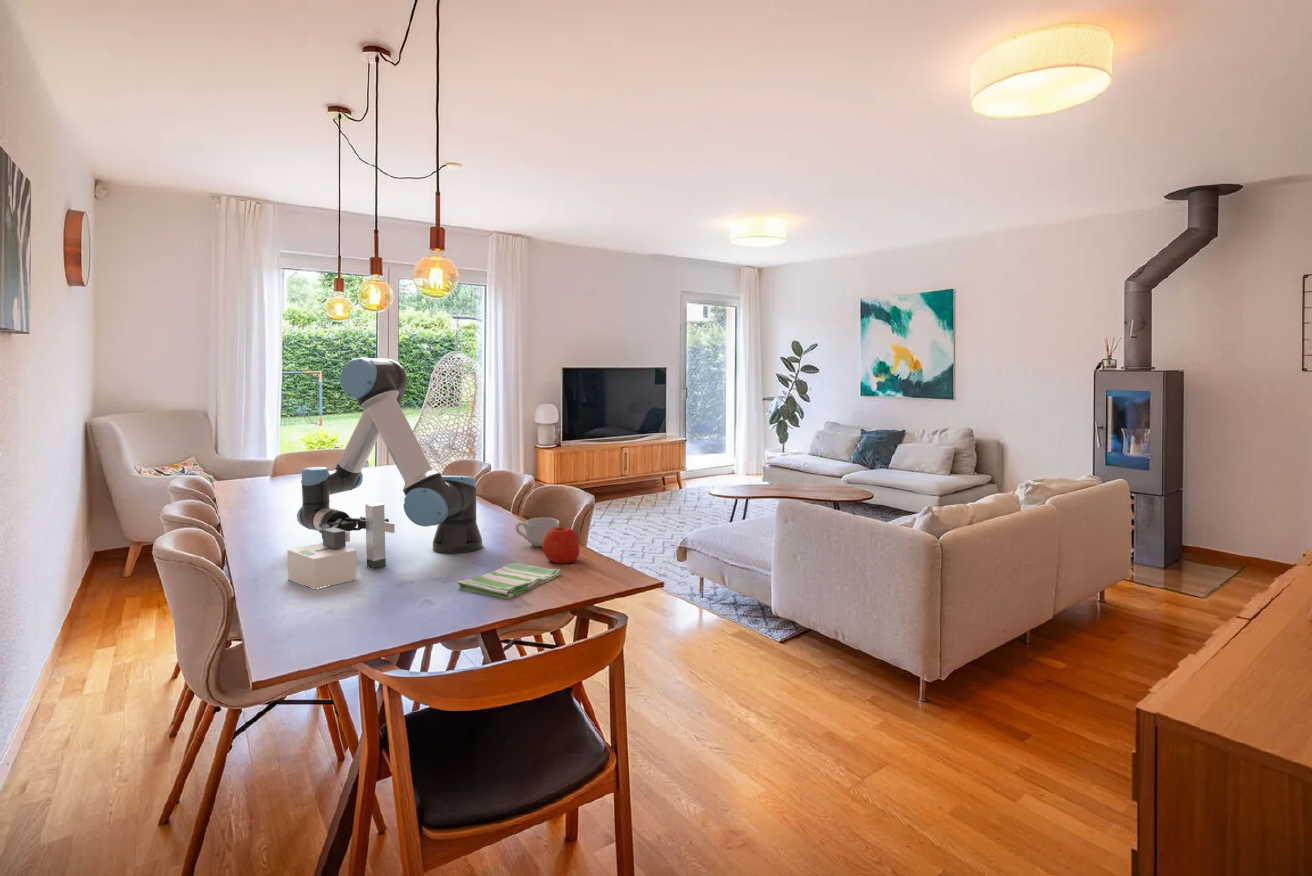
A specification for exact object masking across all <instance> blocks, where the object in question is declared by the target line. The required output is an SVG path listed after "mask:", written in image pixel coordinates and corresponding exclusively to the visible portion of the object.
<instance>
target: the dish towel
mask: <svg viewBox="0 0 1312 876" xmlns="http://www.w3.org/2000/svg"><path fill="white" fill-rule="evenodd" d="M561 571H562V570H561V569H560V568H547V567H542V566H536V565H533V564H532V565H531V564H525V563H523V562H522V563H520V562H512V563H509V564H507V565H505V566H503V567H501V568H498V569H496V570H493V571H490V572H487V573H486V574H481V575H478V576H474V577H472V578H467V579H462V580H458V581H456V584H457V585H458V587H459V589H460V590H463V591H466V592H467V591H468V592H470V593H471V592H472V593H477V594H482V595H485V596H491V597H495V598H501V599H505V600H509V599H510V598H513V597H515V596H517V595H519V594H521V593H524V592H526V591H528V590H530V589H533V588H535V586H536V585H538V586H539V585H542V584H544V583H546V582H549V581H551V579H552V580H553V579H556V578H557V577H558V576H560V575H561ZM556 576H557V577H556ZM536 587H537V586H536Z"/></svg>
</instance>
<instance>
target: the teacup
mask: <svg viewBox="0 0 1312 876" xmlns="http://www.w3.org/2000/svg"><path fill="white" fill-rule="evenodd" d="M520 526H523V527H524V530H525V533H524V532H522V531H521V530H520V529H519V527H520ZM553 527H560V520H558V519H556V518H553V517H545V516H544V517H534V518H529V519H527V520H526V522H524V521H519V522H517V523H516V525H515V531H516V533H517V534H518V535H519V536H521V537H522V538H524V540H526V541H528V543H529V544H531V545H532V546H533V545H534V546H533V547H535V546H542V545H543V541H544V538H545V536H546V534H547V533H548V532H549V530H550V529H552V528H553Z"/></svg>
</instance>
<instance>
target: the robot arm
mask: <svg viewBox="0 0 1312 876" xmlns="http://www.w3.org/2000/svg"><path fill="white" fill-rule="evenodd" d="M339 384H340V388H341V390H342V392H343V393H344V394H345V395H347V396H348V397H350V398H352V399H355V400H356V402H357V404H358V405H359V407H360V409H361V410H363V412H362V415H361V416H360V418H359V420H358V422H357V424H356V426H355V429H354V430H353V432H352V433H351V436H350V439H349V440H348V443H347V445H346V447H344V451H343V453H342V454H341V457H340V458H339V460H338V461H337V464H336V466H335V468H334V469H332V470H329V468H328V467H326V466H310V467H305V468H303V469H302V470H301V480H300V483H301V497H302V498H301V499H302V505H301V507H299V510H298V511H297V513H296V519H297V522H298V524H300V525H301V526H302V527H304V528H306V529H307V530H313V531H317V532H319V534H321V539H322V540H323V529H327V528H333V527H334V528H337V529H341V530H345V541H346V543H350V542H351V532H352V531H361V530H366V516H365V517H364V516H360V517H359V518H357V517H355V518H353V517H350V515H349V514H348V513H347V512H345V511H342V510H339V509H334V508H330V500H331V499H330V496H331V495H335V494H339V493H343V492H349V491H352V490H354V489H357V488H359V487H360V486H361V484H362V483H363V480H364V479H363V476H364V475H363V473H362V471H363V468H364V466H365V464H366V463H367V461H368V459H369V456H370V455H371V453H372V451H373V449H374V447H375V445H376V443H377V441H378V439H379V437H381V439H382V440H383V443H384V445H385V446H386V449H387V451H388V453H389V454H390V456H391V458H392V460H393V462H394V464H395V466H396V467H397V470H398V472H399V474H400V476H401V478H402V479H403V482H404V485H403V488H402V493H404V496H405V497H404V499H403V501H404V503H403V511H404V513H405V515H406V517H407V518H408V520H409V521H411V523H413V524H415V525H417V526H419V527H425V528H427V527H432V526H437V527H436V531H435V534H434V536H433V537H434V538H433V539H432V550H433V551H435V552H437V553H443V554H460V553H461V554H462V553H469V552H473V551H477V550H479V549H481V548H482V547H483V538H482V534H481V532H480V530H479V526H478V523H477V490H478V489H477V483H476V478H475V477H474V476H471V475H470V476H468V475H467V476H466V475H450V474H449V475H442V474H441V472H439V471H436V470H435V469H433V468H432V465H431V464H430V463H429V460H428V458H427V456H426V454H425V452H424V450H423V449H422V447H421V445H420V442H419V440H418V438H417V437H416V435H415V433H414V431H413V429H412V427H411V425H410V423H409V421H408V419H407V418H406V415H405V413H404V411H403V410H402V408H401V406H400V404H401V401H403V398H404V396H405V392H406V389H407V385H408V376H407V373H406V370H405V369H404V367H403V366H402V365H401V364H400V363H399V362H398V361H396V360H393V359H390V358H372V357H371V358H370V357H366V356H364V357H363V356H362V357H357V358H352V359H351V360H349V361H347V362H346V363H345V364H344V365H343V367H342V369H341V373H340V374H339ZM389 520H390V519H389V518H385V533H390V534H394V533H395V531H396V530H395V523H394V522H390V521H389Z"/></svg>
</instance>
